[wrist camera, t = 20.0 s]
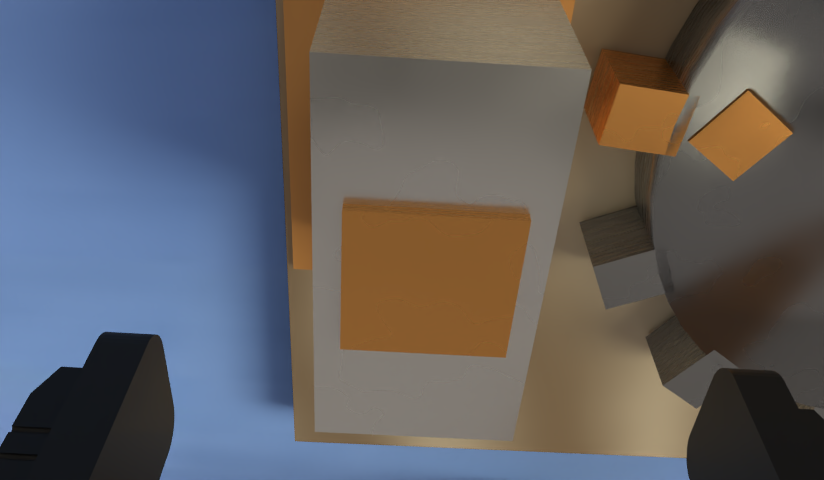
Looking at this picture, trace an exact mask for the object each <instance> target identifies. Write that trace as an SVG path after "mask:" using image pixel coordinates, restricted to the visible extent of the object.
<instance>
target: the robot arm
mask: <svg viewBox="0 0 824 480" xmlns="http://www.w3.org/2000/svg"><path fill="white" fill-rule="evenodd" d="M173 429H174V405H173V399H172V393H171V388H170V382H169V377H168V371H167V365H166V360H165V354H164V349H163V344H162V340H161V338H160V336H158V335H153V334H135V333H117V332H104V333H102V334H101V335H100V336H99V337H98V339H97V341H96V343H95V344H94V346H93V348H92V350H91V352H90V354H89V356H88V358H87V360H86V362H85V364H84V366H83V368H75V367H60V368H59V369H58V370H57V371H56V372H55V373H53V374H52V375H51V376H50V377H49V378H48V379H47V380H45V381H44V382H43V383H42V384H41V385H40V386H39V387H37V388H36V389H35V390H34V391H33V392H32V393H31V394H30V395H29V397H28V399H27V400H26V402H25V404H24V406H23V408H22V409H21V411H20V413H19V415H18V416H17V418H16V420H15V422H14V423H13V425H12V431H11V432H8V434H7V436H6V437H5V439H4V441H3V443H2V444H1V446H0V480H159V479H160V476H161V473H162V470H163V467H164V464H165V461H166V458H167V455H168V452H169V449H170V446H171V441H172V436H173ZM687 469H688V475H689V479H690V480H824V419H823V418H822V417H821V416H820V415H819V414H818V413H817V412H816V411H815V410H812V409H799V408H798V406H797V404H796V402H795V400H794V399H793V397H792V395H791V393H790V391H789V389H788V387H787V385H786V383H785V381H784V380H783V378H782V377H781V375H780V374H779V373H777V372H776V371H772V370H754V369H736V368H720V369H719V370H717V371H716V373H715V374H714V376H713V379H712V381H711V383H710V386H709V388H708V391H707V393H706V396H705V398H704V401H703V403H702V406H701V408H700V411H699V413H698V416H697V418H696V421H695V423H694V425H693V428H692V430H691V433H690V436H689V439H688V444H687Z"/></svg>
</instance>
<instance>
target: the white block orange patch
mask: <svg viewBox="0 0 824 480" xmlns="http://www.w3.org/2000/svg"><path fill="white" fill-rule="evenodd" d="M309 62H310V132H311V202H312V272H313V342H314V412H315V432H329V433H350V434H372V435H393V436H414V437H436V438H457V439H478V440H500V441H513V437H514V432H515V428H516V423H517V418H518V414H519V409H520V404H521V400H522V395H523V390H524V385H525V381H526V376H527V371H528V367H529V362H530V357H531V353H532V348H533V343H534V339H535V334H536V329H537V324H538V320H539V315H540V310H541V306H542V301H543V296H544V292H545V287H546V282H547V278H548V273H549V268H550V264H551V259H552V254H553V249H554V245H555V240H556V235H557V231H558V226H559V221H560V217H561V212H562V207H563V203H564V198H565V193H566V188H567V184H568V179H569V174H570V170H571V165H572V160H573V156H574V151H575V146H576V142H577V137H578V132H579V127H580V123H581V118H582V113H583V109H584V104H585V99H586V95H587V90H588V85H589V81H590V76H591V71H592V69H591V67H590V65H589V63H588V60H587V58H586V56H585V54H584V52H583V50H582V47H581V45H580V43H579V41H578V39H577V37H576V35H575V32H574V30H573V28H572V26H571V24H570V22H569V19H568V17H567V15H566V13H565V11H564V9H563V6H562V4H561V2H560V0H325V1H324V5H323V8H322V11H321V15H320V18H319V21H318V25H317V28H316V31H315V35H314V38H313V41H312V45H311V48H310V51H309Z"/></svg>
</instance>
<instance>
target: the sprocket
mask: <svg viewBox="0 0 824 480" xmlns="http://www.w3.org/2000/svg"><path fill="white" fill-rule="evenodd" d="M584 109H585V112H586V114H587V117H588V119H589V122H590V124H591V127H592V129H593V132H594V134H595V137H596V139H597V142H598V144H599V145H601V146H608V147H614V148H621V149H627V150H634V151H636V157H635V203H636V206H632V207H629V208H626V209H622V210H619V211H615V212H612V213H609V214H605V215H602V216H598V217H595V218H592V219H588V220H585V221H581V222H579V223H580V226H581V230H582V233H583V236H584V240H585V243H586V246H587V250H588V253H589V256H590V260H591V263H592V266H593V269H594V273H595V276H596V279H597V283H598V286H599V289H600V292H601V296H602V299H603V302H604V305H605V309H610V308H614V307H617V306H621V305H625V304H629V303H632V302H636V301H640V300H644V299H647V298H651V297H655V296H658V295H662V294H665V296H666V298H667V300H668V303H669V304H670V306H671V308H672V310H673V312H674V313H675V316H674V317H672V318H671V319H669V320H668V321H667V322H665V323H664V324H663V325H661V326H660V327H659V328H657V329H656V330H655V331H653V332H652V333H650V334H649V335H648V336H646V340H647V343H648V346H649V349H650V351H651V354H652V357H653V360H654V363H655V366H656V368H657V371H658V374H659V377H660V380H661V382H662V385H663V386H664V387H665V388H667V389H668V390H670V391H671V392H673V393H674V394H676V395H677V396H678V397H680V398H681V399H683V400H684V401H686V402H687V403H689V404H690V405H692V406H693V407H694V408H696V409H697V408H698V407H700V406H702V403H703V401H704V398H705V396H706V393H707V391H708V388H709V386H710V383H711V381H712V379H713V376H714V374H715V373H716V371H717V370H719V369H720V368H736V369H754V370H772V371H776V372H777V373H779V374H780V375H781V377H782V378H783V380H784V381H785V383H786V385H787V387H788V389H789V391H790V393H791V395H792V397H793V399H794V400H795V402H796V404H797V406H798V408H799V409H812V410H815V411H816V412H817V413H818V414H819V415H820V416H821V417H822V418H823V419H824V0H699V1H698V2H697V4H696V5H695V6H694V8H693V10H692V11H691V13H690V15H689V16H688V18H687V20H686V21H685V23H684V25H683V26H682V28H681V30H680V31H679V33H678V35H677V36H676V38H675V40H674V41H673V43H672V45H671V46H670V48H669V51H668V53H667V55H666V57H665V59H664V58H658V57H652V56H645V55H639V54H633V53H627V52H621V51H615V50H609V49H603V48H602V49H601V52H600V55H599V58H598V62H597V65H596V68H595V71H594V74H593V77H592V80H591V83H590V86H589V89H588V93H587V96H586V99H585V104H584Z"/></svg>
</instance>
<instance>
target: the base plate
mask: <svg viewBox="0 0 824 480" xmlns="http://www.w3.org/2000/svg"><path fill="white" fill-rule="evenodd" d="M324 1H325V0H276V19H277V42H278V64H279V87H280V110H281V132H282V155H283V178H284V201H285V223H286V246H287V269H288V291H289V314H290V337H291V360H292V382H293V405H294V428H295V441H304V442H327V443H350V444H373V445H396V446H419V447H442V448H465V449H488V450H511V451H534V452H558V453H581V454H604V455H627V456H650V457H673V458H687V444H688V439H689V436H690V433H691V430H692V428H693V425H694V423H695V421H696V418H697V416H698V413H699V411H700V408H701V406H700V407H698V408H697V409H696V408H694V407H693V406H692V405H690V404H689V403H687V402H686V401H684V400H683V399H681V398H680V397H678V396H677V395H676V394H674V393H673V392H671V391H670V390H668V389H667V388H665V387H664V386H663V385H662V382H661V380H660V377H659V374H658V371H657V368H656V366H655V363H654V360H653V357H652V354H651V351H650V349H649V346H648V343H647V340H646V336H648V335H649V334H650V333H652V332H653V331H655V330H656V329H657V328H659V327H660V326H661V325H663V324H664V323H665V322H667V321H668V320H669V319H671V318H672V317H674V316H675V313H674V312H673V310H672V308H671V306H670V304H669V303H668V300H667V298H666V296H665V294H662V295H658V296H655V297H651V298H647V299H644V300H640V301H636V302H632V303H629V304H625V305H621V306H617V307H614V308H610V309H605V305H604V302H603V299H602V296H601V292H600V289H599V286H598V283H597V279H596V276H595V273H594V269H593V266H592V263H591V260H590V256H589V253H588V250H587V246H586V243H585V240H584V236H583V233H582V230H581V226H580V223H579V222H581V221H585V220H588V219H592V218H595V217H598V216H602V215H605V214H609V213H612V212H615V211H619V210H622V209H626V208H629V207H632V206H636V203H635V157H636V151H634V150H627V149H621V148H614V147H608V146H601V145H599V144H598V142H597V139H596V137H595V134H594V132H593V129H592V127H591V124H590V122H589V119H588V117H587V114H586V112H585V109H583V113H582V118H581V123H580V127H579V132H578V137H577V142H576V146H575V151H574V156H573V160H572V165H571V170H570V174H569V179H568V184H567V188H566V193H565V198H564V203H563V207H562V212H561V217H560V221H559V226H558V231H557V235H556V240H555V245H554V249H553V254H552V259H551V264H550V268H549V273H548V278H547V282H546V287H545V292H544V296H543V301H542V306H541V310H540V315H539V320H538V324H537V329H536V334H535V339H534V343H533V348H532V353H531V357H530V362H529V367H528V371H527V376H526V381H525V385H524V390H523V395H522V400H521V404H520V409H519V414H518V418H517V423H516V428H515V432H514V437H513V441H500V440H478V439H457V438H436V437H414V436H393V435H372V434H350V433H329V432H315V412H314V342H313V272H312V202H311V132H310V62H309V51H310V48H311V45H312V41H313V38H314V35H315V31H316V28H317V25H318V21H319V18H320V15H321V11H322V8H323V5H324ZM698 1H699V0H560V2H561V4H562V6H563V9H564V11H565V13H566V15H567V17H568V19H569V22H570V24H571V26H572V28H573V30H574V32H575V35H576V37H577V39H578V41H579V43H580V45H581V47H582V50H583V52H584V54H585V56H586V58H587V60H588V63H589V65H590V67H591V69H592V71H591V76H590V81H589V85H588V89H589V86H590V83H591V80H592V77H593V74H594V71H595V68H596V65H597V62H598V58H599V55H600V52H601V49H602V48H603V49H609V50H615V51H621V52H627V53H633V54H639V55H645V56H652V57H658V58H664V59H665V57H666V55H667V53H668V51H669V48H670V46H671V45H672V43H673V41H674V40H675V38H676V36H677V35H678V33H679V31H680V30H681V28H682V26H683V25H684V23H685V21H686V20H687V18H688V16H689V15H690V13H691V11H692V10H693V8H694V6H695V5H696V4H697V2H698ZM587 93H588V90H587ZM586 96H587V95H586Z"/></svg>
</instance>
